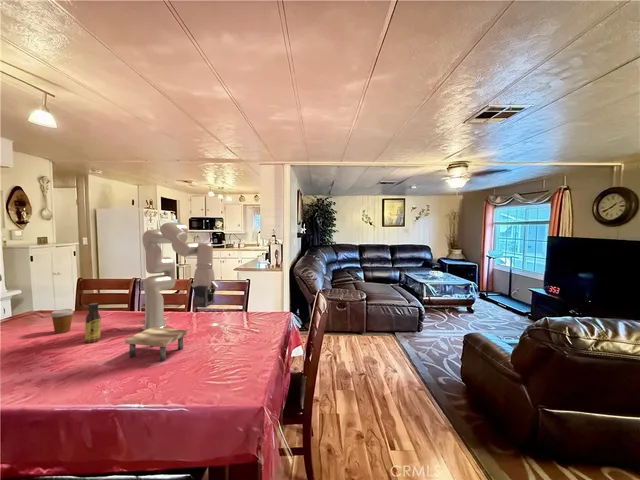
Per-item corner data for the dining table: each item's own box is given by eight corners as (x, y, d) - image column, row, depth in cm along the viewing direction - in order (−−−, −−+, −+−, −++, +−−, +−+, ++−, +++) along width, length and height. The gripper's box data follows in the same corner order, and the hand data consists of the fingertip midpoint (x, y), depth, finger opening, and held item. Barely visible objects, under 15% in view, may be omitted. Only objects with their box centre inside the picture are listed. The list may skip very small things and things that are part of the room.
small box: (203, 301, 147) (203, 282, 147) (214, 302, 147) (215, 283, 146) (192, 307, 136) (193, 286, 136) (205, 308, 136) (205, 287, 136)
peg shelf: (152, 344, 141) (152, 327, 141) (186, 347, 138) (186, 330, 137) (125, 358, 125) (125, 339, 125) (163, 362, 122) (163, 342, 122)
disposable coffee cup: (47, 333, 153) (47, 312, 153) (68, 327, 162) (67, 307, 161) (56, 336, 149) (56, 314, 149) (77, 330, 158) (77, 309, 158)
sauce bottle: (91, 344, 140) (91, 305, 139) (81, 342, 141) (81, 305, 141) (103, 339, 146) (103, 302, 146) (94, 338, 148) (94, 301, 147)
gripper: (185, 266, 140) (185, 300, 141) (213, 268, 135) (213, 304, 135) (196, 264, 147) (196, 297, 148) (223, 267, 142) (222, 300, 142)
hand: (204, 300), depth 142 cm, fingers closed on small box, 7 cm apart
